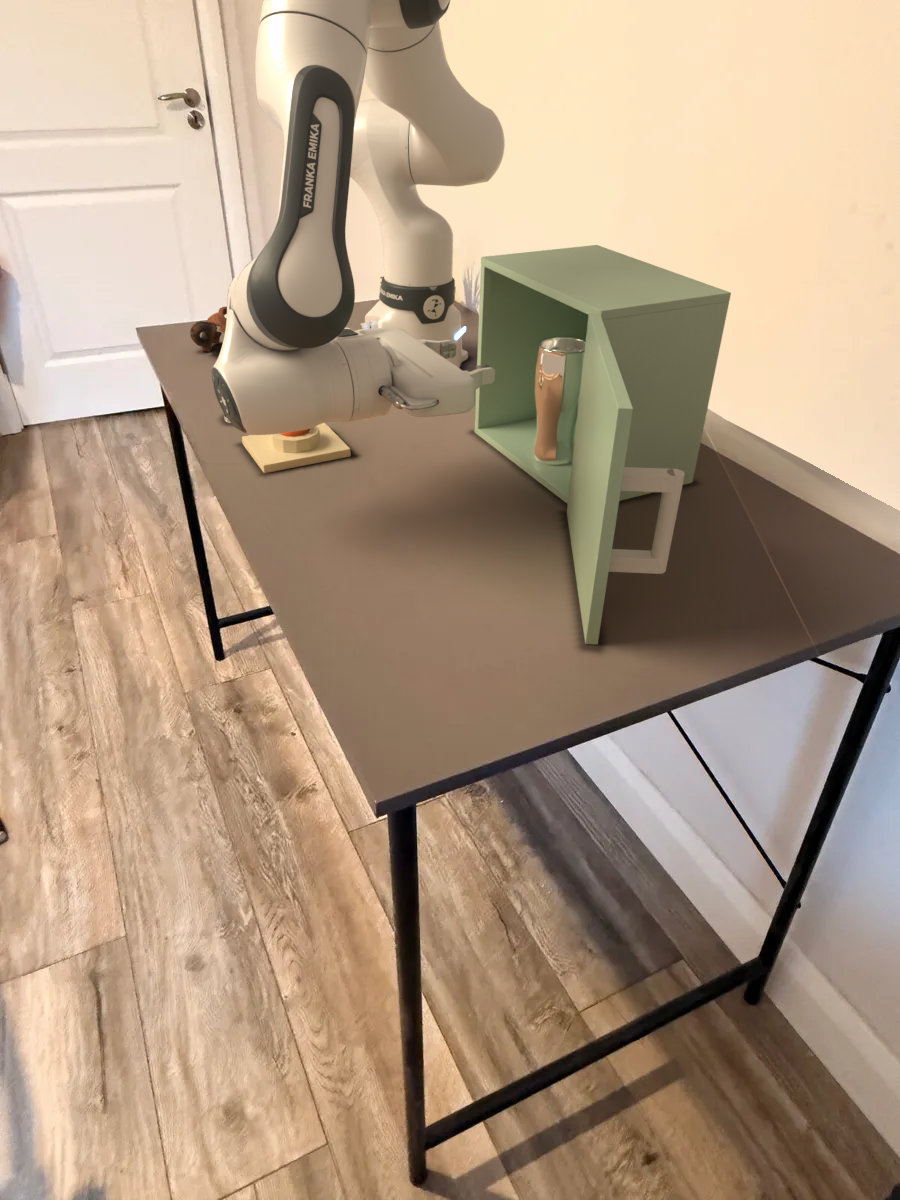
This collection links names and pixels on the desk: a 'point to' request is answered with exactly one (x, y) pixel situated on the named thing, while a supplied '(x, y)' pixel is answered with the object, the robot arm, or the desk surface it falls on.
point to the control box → (295, 448)
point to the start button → (295, 433)
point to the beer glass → (557, 398)
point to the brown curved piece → (209, 330)
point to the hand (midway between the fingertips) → (472, 360)
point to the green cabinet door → (609, 483)
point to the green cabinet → (637, 336)
